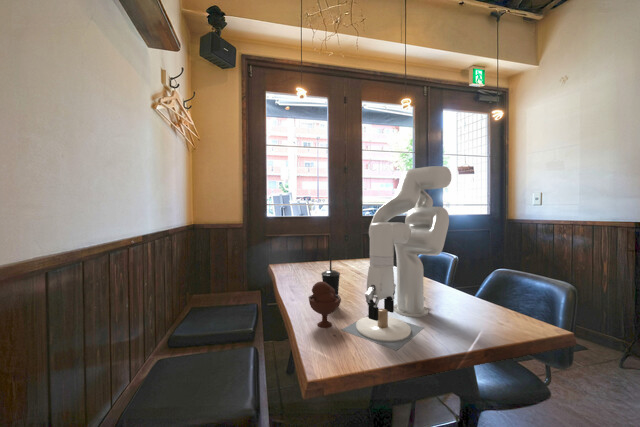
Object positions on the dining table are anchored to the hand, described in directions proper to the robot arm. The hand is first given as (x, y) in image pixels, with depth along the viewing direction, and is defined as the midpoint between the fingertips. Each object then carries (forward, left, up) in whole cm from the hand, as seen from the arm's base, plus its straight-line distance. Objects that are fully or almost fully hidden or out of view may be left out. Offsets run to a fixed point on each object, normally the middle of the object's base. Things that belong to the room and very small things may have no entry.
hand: (381, 315), depth 82 cm
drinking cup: (-6, -26, -5) cm, 27 cm away
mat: (-1, 0, -5) cm, 5 cm away
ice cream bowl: (+9, -16, -5) cm, 19 cm away
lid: (-1, 0, -4) cm, 4 cm away
